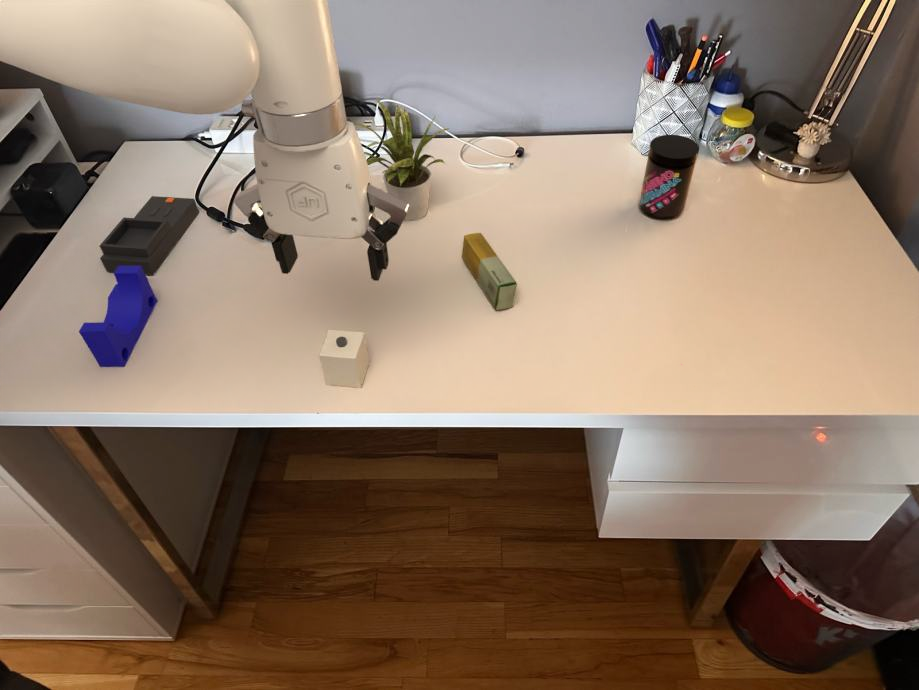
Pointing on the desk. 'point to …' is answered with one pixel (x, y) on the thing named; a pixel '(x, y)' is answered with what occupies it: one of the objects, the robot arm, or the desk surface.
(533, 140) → the desk surface
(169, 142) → the desk surface
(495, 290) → the medication box
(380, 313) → the desk surface
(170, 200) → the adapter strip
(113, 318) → the blue curved cradle bracket
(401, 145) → the house plant
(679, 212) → the supplement container
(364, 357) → the block
